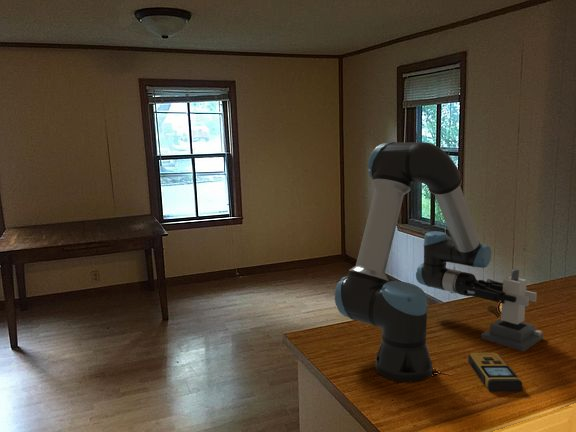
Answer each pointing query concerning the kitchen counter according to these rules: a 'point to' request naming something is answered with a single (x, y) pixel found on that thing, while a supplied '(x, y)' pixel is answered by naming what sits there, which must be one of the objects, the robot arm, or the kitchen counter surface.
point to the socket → (513, 334)
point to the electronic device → (494, 372)
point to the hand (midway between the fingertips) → (531, 299)
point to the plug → (512, 310)
